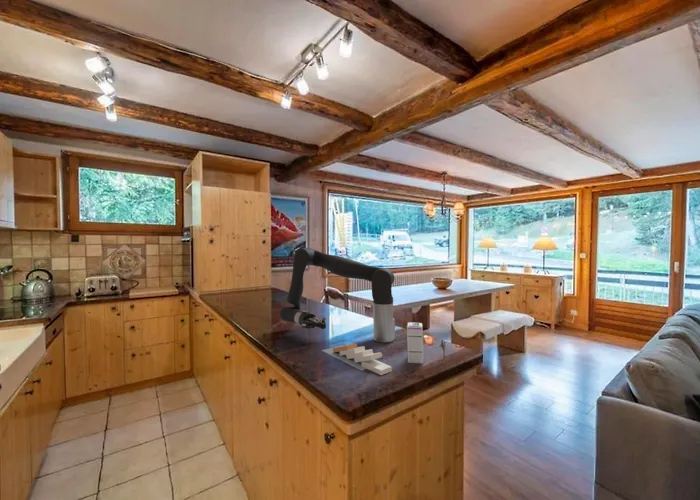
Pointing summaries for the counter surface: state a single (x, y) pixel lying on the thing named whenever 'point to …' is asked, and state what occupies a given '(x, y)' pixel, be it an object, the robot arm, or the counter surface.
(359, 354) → the domino
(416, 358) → the syrup box
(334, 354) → the board
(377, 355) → the domino
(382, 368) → the domino
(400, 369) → the counter surface
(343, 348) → the domino
